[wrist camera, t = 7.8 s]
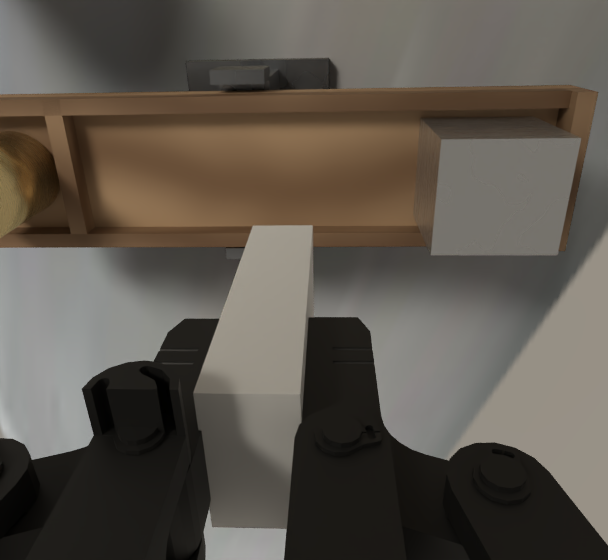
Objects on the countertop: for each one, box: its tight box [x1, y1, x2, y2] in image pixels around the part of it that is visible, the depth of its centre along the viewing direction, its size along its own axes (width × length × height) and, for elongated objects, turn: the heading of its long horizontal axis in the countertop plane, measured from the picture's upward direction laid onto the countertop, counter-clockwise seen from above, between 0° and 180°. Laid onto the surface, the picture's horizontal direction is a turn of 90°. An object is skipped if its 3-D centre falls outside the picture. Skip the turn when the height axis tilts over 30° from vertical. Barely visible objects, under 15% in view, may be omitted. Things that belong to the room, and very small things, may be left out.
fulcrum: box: [186, 58, 329, 259], centre depth 29 cm, size 9×8×8 cm
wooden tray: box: [0, 85, 598, 251], centre depth 25 cm, size 7×30×3 cm, turn 91°
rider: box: [413, 116, 581, 255], centre depth 22 cm, size 5×5×5 cm
